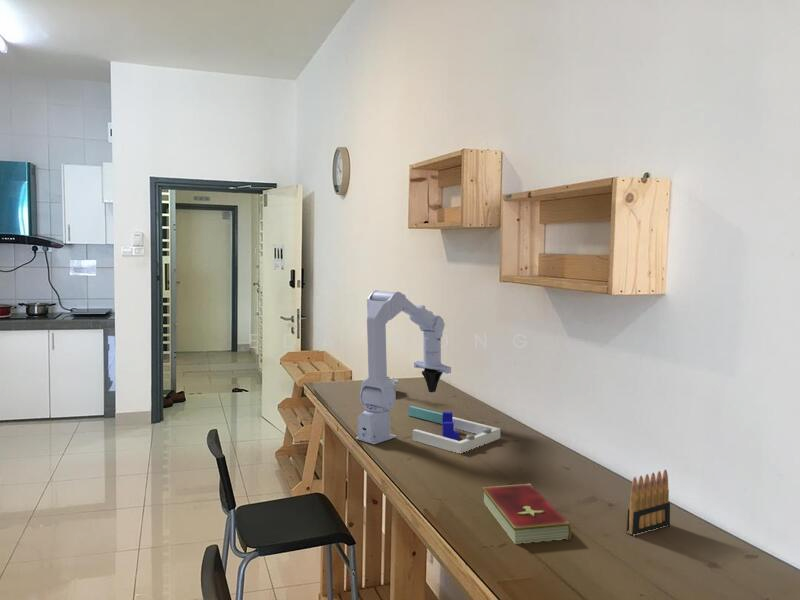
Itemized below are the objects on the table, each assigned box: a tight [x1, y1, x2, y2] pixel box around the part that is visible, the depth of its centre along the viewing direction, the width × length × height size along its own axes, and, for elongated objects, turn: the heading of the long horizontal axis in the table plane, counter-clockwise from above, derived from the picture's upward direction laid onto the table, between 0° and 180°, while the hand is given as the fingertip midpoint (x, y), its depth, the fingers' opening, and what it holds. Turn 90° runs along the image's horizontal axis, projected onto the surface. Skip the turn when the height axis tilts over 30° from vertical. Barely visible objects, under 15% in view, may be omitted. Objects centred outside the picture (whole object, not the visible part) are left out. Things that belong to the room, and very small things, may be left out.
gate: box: [407, 405, 443, 425], centre depth 213 cm, size 17×1×3 cm, turn 46°
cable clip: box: [442, 411, 460, 441], centre depth 197 cm, size 12×4×6 cm, turn 177°
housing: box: [412, 416, 501, 455], centre depth 194 cm, size 19×18×4 cm
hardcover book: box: [481, 483, 572, 545], centre depth 140 cm, size 12×21×4 cm, turn 10°
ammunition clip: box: [626, 469, 671, 534], centre depth 135 cm, size 11×2×12 cm, turn 118°
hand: (432, 391), depth 217 cm, fingers closed
